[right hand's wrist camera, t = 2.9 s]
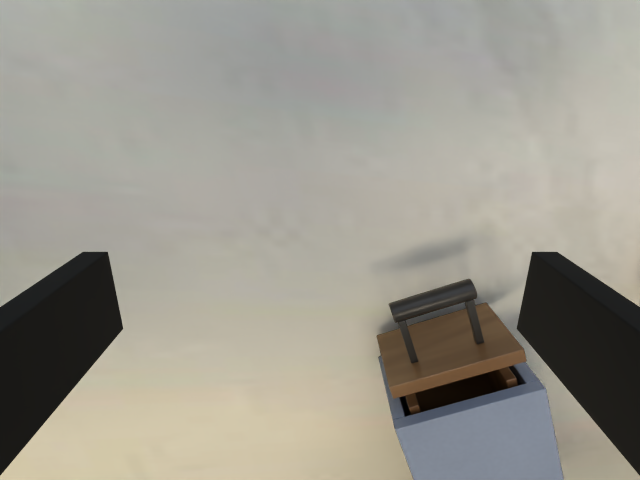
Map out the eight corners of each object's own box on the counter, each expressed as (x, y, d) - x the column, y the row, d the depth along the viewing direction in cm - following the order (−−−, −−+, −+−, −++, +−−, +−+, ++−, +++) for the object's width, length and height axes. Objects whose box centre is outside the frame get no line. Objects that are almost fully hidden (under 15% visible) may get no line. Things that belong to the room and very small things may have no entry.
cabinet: (378, 356, 39) (394, 429, 30) (494, 322, 37) (546, 388, 29) (428, 494, 45) (453, 585, 37) (529, 468, 44) (579, 557, 35)
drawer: (358, 284, 35) (367, 328, 28) (473, 247, 34) (510, 284, 27) (426, 474, 43) (445, 542, 36) (521, 449, 42) (559, 516, 35)
